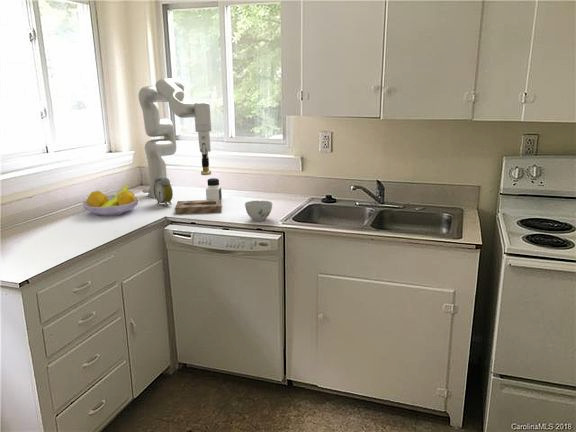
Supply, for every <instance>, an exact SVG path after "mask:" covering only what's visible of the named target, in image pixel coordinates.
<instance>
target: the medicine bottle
mask: <svg viewBox="0 0 576 432" xmlns="http://www.w3.org/2000/svg"><path fill="white" fill-rule="evenodd" d="M222 195H223V194H222V186H220V180H219V178H215V177H214V178H213V177H211V178H209V179H207V188H206V189H205V198H206V199H205V200H221V201H222V199H223V198H222V197H223V196H222Z"/></svg>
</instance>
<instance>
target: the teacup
mask: <svg viewBox="0 0 576 432" xmlns="http://www.w3.org/2000/svg"><path fill="white" fill-rule="evenodd" d="M244 208H245V210H246V213H247V215H248V216H249V218H250V219H251V220H252V221H254V222H264V221H266V219H267V218H268V217H269V216H270V214H271V212H272V208H273V202H272V201H269V200H250V201H246V202H245V203H244Z"/></svg>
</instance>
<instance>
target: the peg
mask: <svg viewBox="0 0 576 432" xmlns="http://www.w3.org/2000/svg"><path fill="white" fill-rule="evenodd" d="M202 152H203V151H202ZM206 152H208V153H209V151H206ZM200 175H201V176H211V175H212V170H210V166H209V167H202V170H200Z"/></svg>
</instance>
